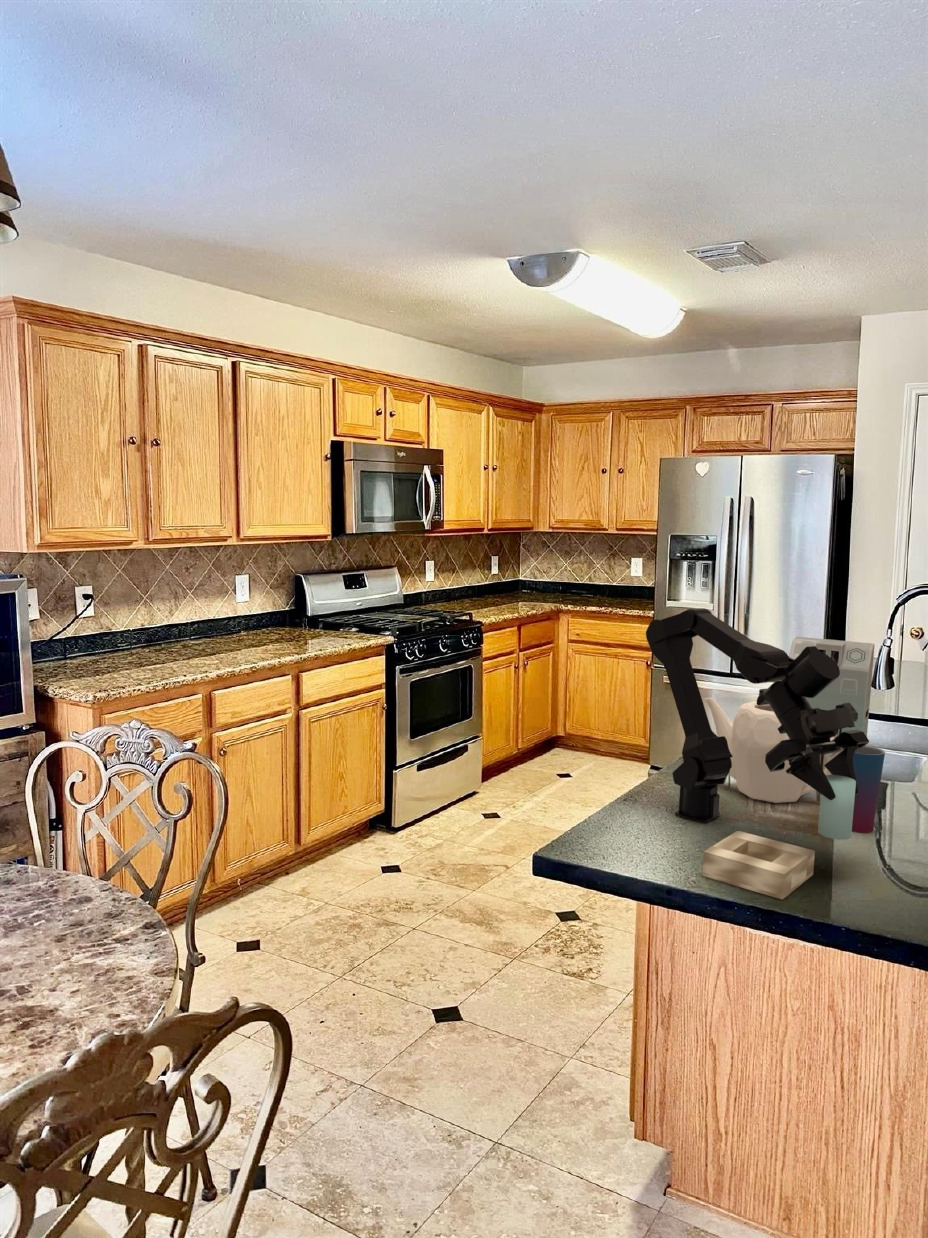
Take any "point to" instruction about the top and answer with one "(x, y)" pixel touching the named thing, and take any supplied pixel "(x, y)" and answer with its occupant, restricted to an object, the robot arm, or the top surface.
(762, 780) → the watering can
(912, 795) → the top surface
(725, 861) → the socket
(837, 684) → the device
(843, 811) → the peg
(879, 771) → the cup
